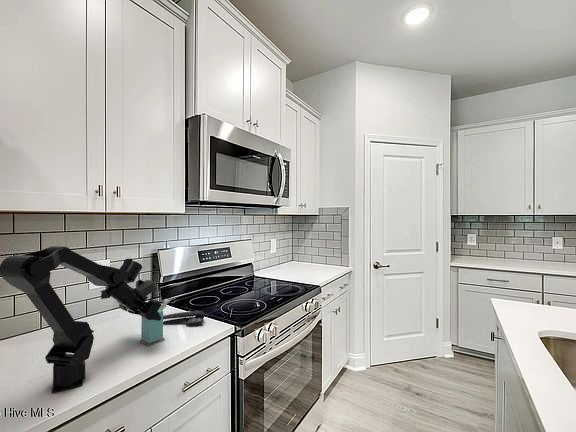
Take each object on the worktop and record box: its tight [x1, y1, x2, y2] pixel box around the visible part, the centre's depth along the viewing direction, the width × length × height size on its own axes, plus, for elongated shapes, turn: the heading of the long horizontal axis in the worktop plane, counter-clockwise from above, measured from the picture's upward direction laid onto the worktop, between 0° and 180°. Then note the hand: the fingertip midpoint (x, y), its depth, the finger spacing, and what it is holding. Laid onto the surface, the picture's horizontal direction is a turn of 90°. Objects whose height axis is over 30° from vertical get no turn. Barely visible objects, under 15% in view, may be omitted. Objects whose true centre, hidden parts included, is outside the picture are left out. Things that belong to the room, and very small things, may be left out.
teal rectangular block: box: [140, 310, 164, 343], centre depth 105 cm, size 5×5×10 cm
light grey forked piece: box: [159, 298, 170, 312], centre depth 130 cm, size 7×2×8 cm, turn 80°
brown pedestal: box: [138, 337, 165, 347], centre depth 105 cm, size 6×6×5 cm
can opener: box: [163, 310, 205, 327], centre depth 122 cm, size 18×7×6 cm, turn 91°
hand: (155, 317), depth 106 cm, fingers open, 6 cm apart
